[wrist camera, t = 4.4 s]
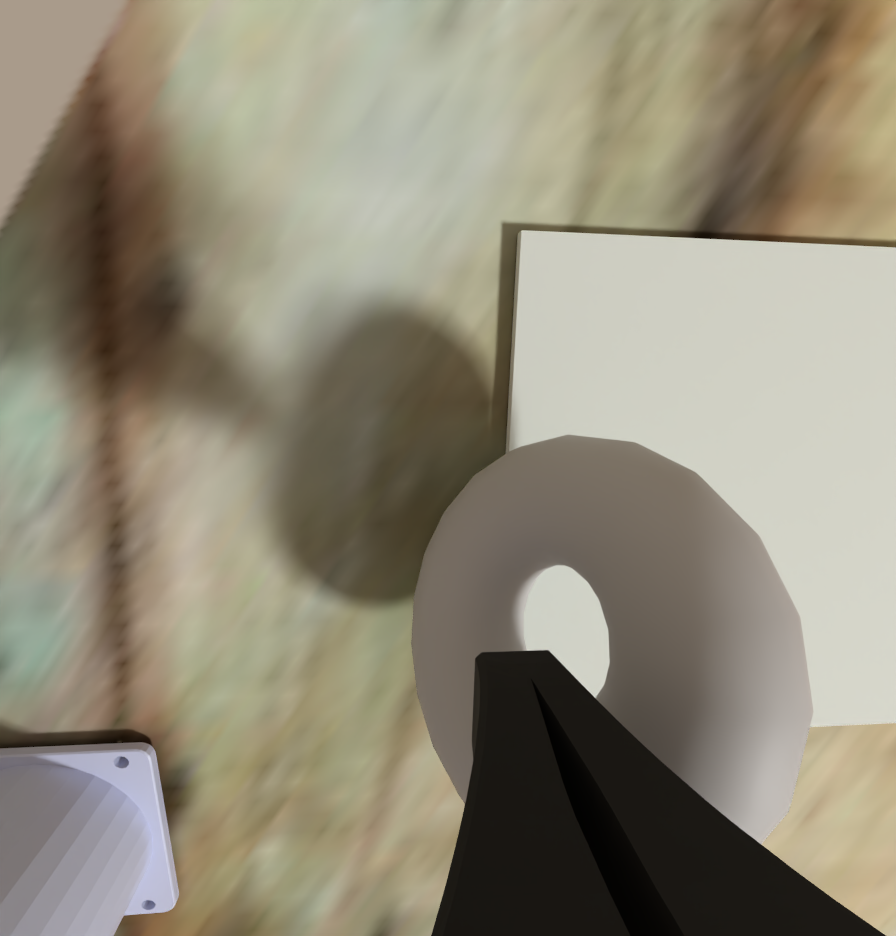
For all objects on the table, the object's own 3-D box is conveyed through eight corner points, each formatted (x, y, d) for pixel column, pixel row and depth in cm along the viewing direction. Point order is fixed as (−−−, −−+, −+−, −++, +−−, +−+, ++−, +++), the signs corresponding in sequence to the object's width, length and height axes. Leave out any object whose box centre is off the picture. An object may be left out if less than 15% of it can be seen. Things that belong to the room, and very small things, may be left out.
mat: (490, 731, 18) (492, 741, 18) (517, 234, 14) (521, 230, 13) (905, 712, 20) (917, 721, 19) (1052, 258, 15) (1072, 255, 15)
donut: (455, 385, 13) (918, 514, 6) (530, 415, 16) (939, 538, 8) (351, 685, 15) (620, 1120, 7) (435, 674, 17) (709, 996, 9)
